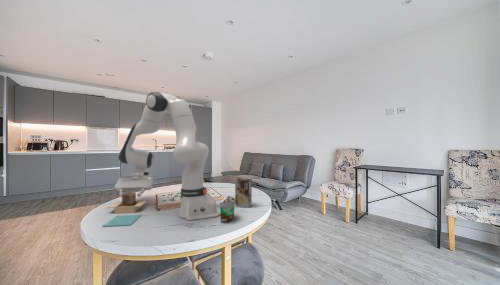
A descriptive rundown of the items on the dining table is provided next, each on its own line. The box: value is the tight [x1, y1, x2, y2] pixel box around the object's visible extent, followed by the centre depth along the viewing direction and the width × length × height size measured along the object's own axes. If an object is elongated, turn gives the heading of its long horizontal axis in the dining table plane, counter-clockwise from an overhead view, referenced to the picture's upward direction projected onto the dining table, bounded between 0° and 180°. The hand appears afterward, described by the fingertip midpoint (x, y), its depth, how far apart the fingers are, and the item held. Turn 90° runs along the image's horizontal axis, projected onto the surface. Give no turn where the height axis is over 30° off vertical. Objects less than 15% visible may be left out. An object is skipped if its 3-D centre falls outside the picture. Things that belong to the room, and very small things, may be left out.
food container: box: [219, 195, 236, 224], centre depth 96 cm, size 12×6×10 cm, turn 168°
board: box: [102, 214, 142, 228], centre depth 93 cm, size 12×12×1 cm
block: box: [121, 192, 137, 206], centre depth 109 cm, size 5×5×9 cm
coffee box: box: [234, 177, 253, 208], centre depth 117 cm, size 9×6×16 cm
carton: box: [108, 200, 148, 214], centre depth 109 cm, size 16×10×4 cm, turn 97°
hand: (130, 196), depth 110 cm, fingers open, 8 cm apart
